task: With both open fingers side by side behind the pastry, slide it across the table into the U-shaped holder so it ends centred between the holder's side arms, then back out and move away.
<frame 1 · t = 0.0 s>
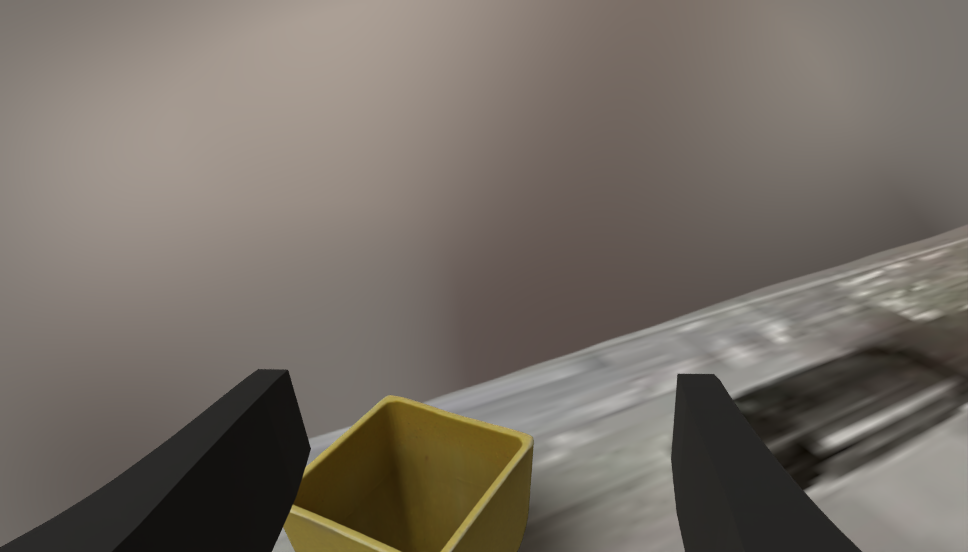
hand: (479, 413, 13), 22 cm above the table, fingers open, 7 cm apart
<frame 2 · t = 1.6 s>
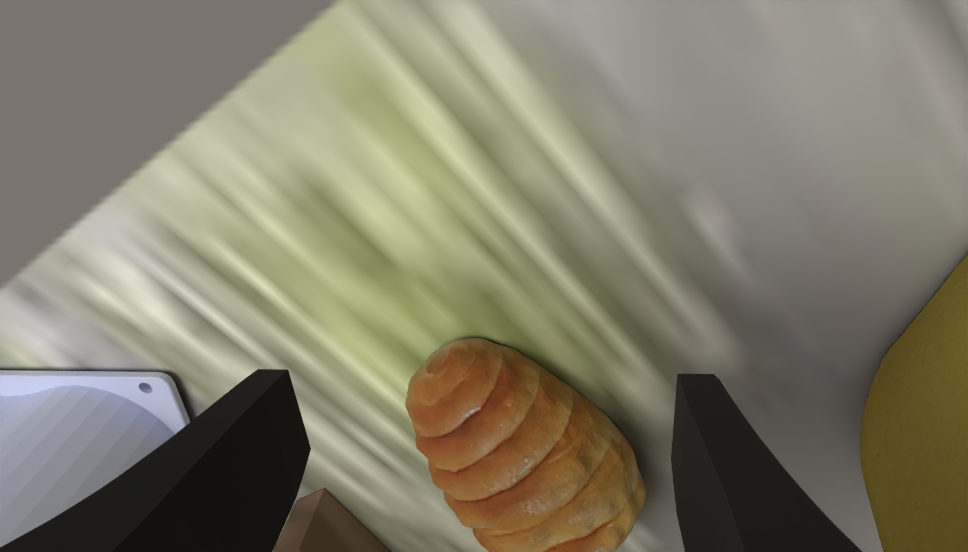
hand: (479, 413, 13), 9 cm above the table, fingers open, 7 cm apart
pastry: (525, 433, 26), on the table
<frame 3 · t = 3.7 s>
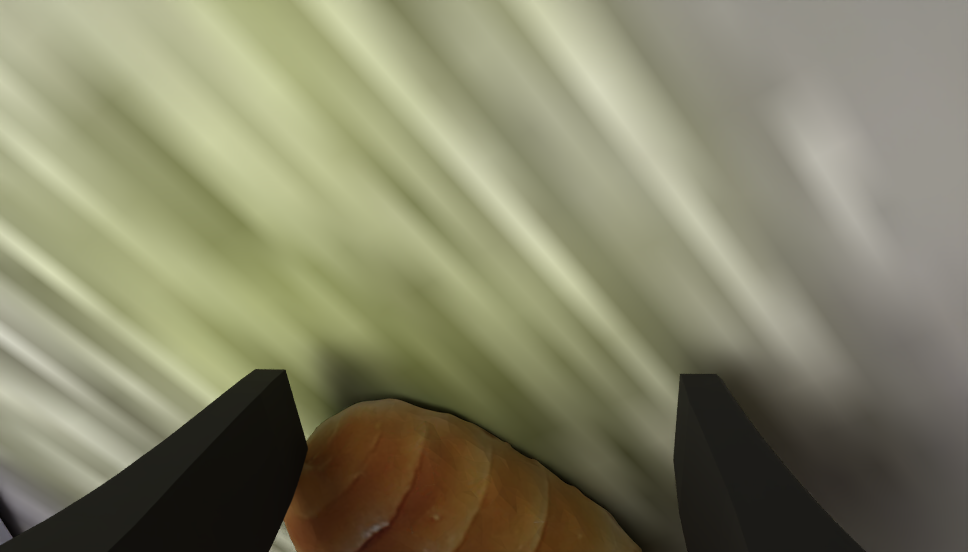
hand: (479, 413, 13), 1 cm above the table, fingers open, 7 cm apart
pastry: (485, 534, 17), on the table, touching gripper
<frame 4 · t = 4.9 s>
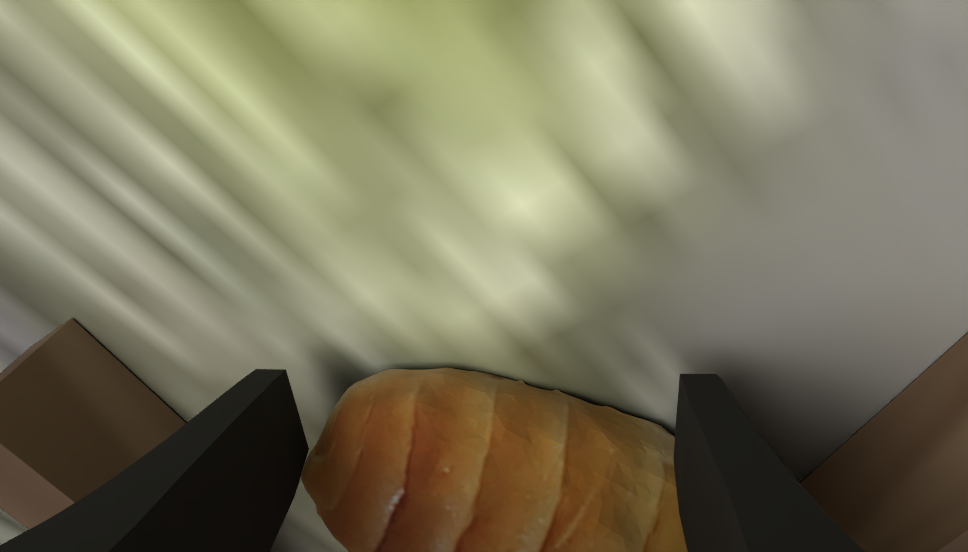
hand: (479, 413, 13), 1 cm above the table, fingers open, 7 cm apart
pastry: (552, 489, 16), on the table, touching gripper
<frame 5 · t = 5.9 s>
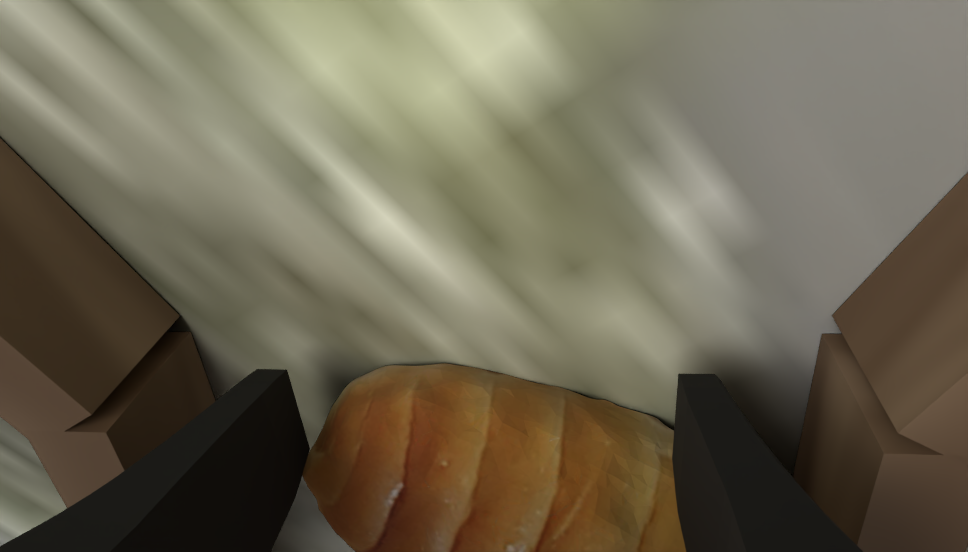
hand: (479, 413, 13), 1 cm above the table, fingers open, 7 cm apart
pastry: (551, 484, 16), on the table, touching gripper
holder: (505, 536, 16), on the table
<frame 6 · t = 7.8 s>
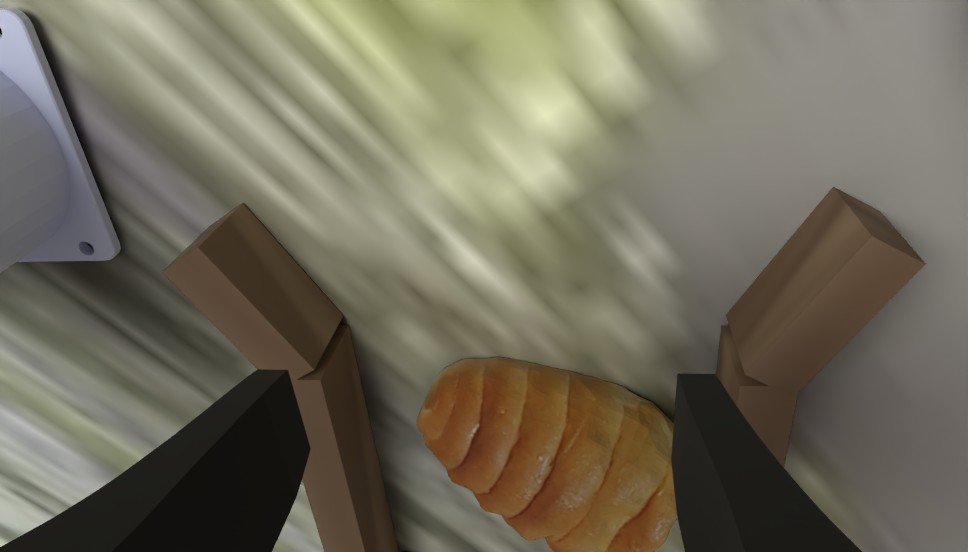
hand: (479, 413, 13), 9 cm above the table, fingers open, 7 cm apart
pastry: (563, 431, 26), on the table
holder: (535, 455, 26), on the table
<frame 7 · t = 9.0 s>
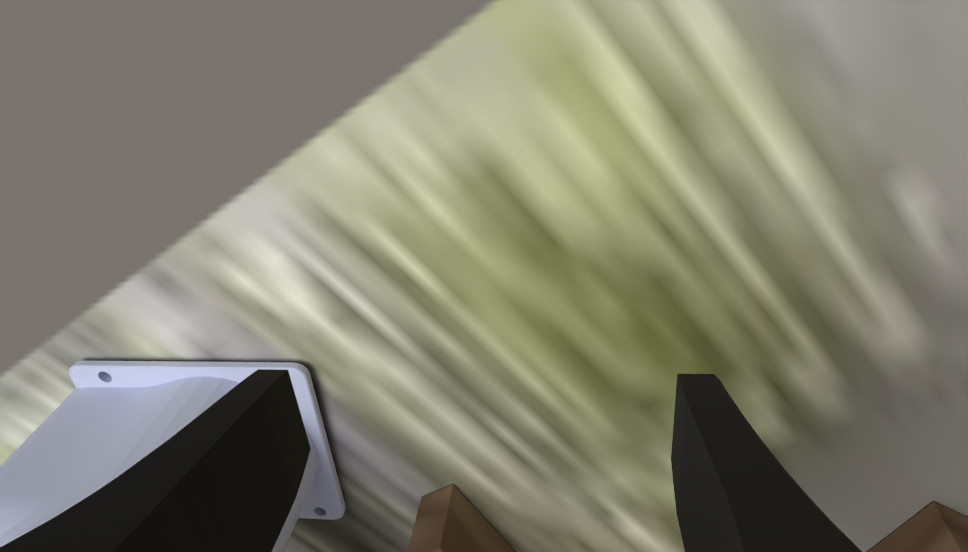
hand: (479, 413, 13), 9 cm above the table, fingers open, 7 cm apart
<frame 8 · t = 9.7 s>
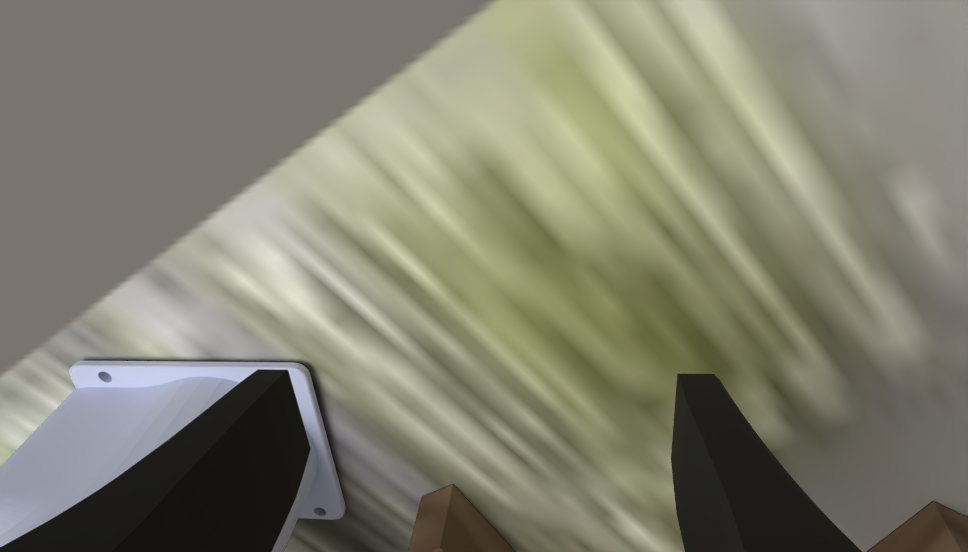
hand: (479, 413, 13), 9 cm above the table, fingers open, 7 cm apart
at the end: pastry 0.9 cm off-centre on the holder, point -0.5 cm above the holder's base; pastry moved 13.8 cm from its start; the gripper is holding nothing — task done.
